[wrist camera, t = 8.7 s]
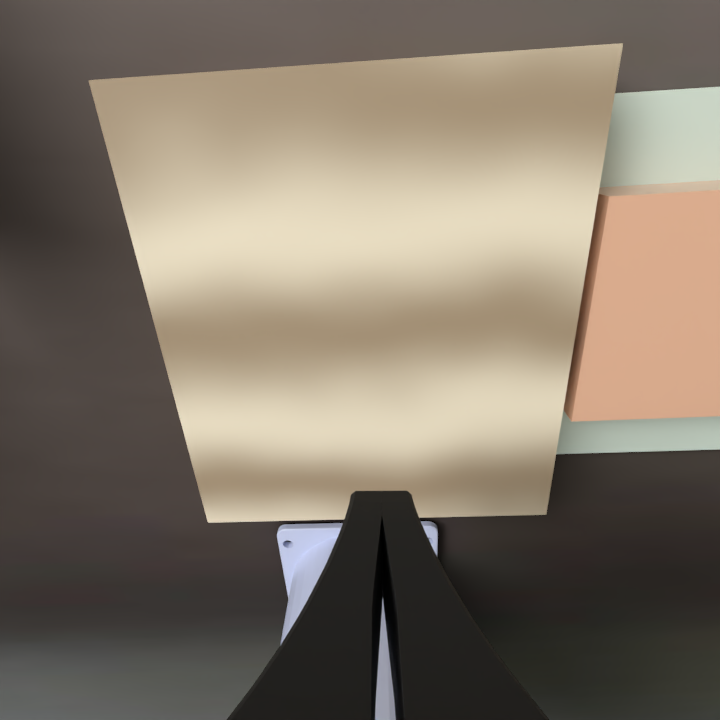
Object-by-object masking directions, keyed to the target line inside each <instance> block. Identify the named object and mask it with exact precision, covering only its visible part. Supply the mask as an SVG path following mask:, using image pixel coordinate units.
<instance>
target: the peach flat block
mask: <svg viewBox="0 0 720 720" xmlns="http://www.w3.org/2000/svg"><path fill="white" fill-rule="evenodd" d="M563 410H564V412H565V413H566V414H567V416H568V417H569V419H570V420H571V422H576V421H603V420H631V419H658V418H685V417H713V416H720V180H712V181H696V182H679V183H663V184H646V185H630V186H613V187H600V188H599V194H598V200H597V206H596V212H595V218H594V225H593V231H592V237H591V243H590V249H589V255H588V261H587V268H586V274H585V280H584V286H583V292H582V298H581V304H580V311H579V317H578V323H577V329H576V335H575V341H574V347H573V354H572V360H571V366H570V372H569V378H568V384H567V390H566V396H565V403H564V409H563Z"/></svg>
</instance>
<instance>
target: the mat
mask: <svg viewBox="0 0 720 720" xmlns="http://www.w3.org/2000/svg"><path fill="white" fill-rule="evenodd" d="M712 180H720V87H709V88H693V89H677V90H662V91H646V92H631V93H615V96H614V102H613V108H612V114H611V120H610V126H609V132H608V139H607V145H606V151H605V157H604V163H603V169H602V175H601V182H600V187H613V186H630V185H646V184H663V183H679V182H696V181H712ZM715 449H720V416H713V417H685V418H658V419H631V420H603V421H576V422H571V420H570V419H569V417H568V416H567V414H566V413H565V412H564V410H563V415H562V421H561V427H560V433H559V439H558V446H557V452H556V454H578V453H612V452H646V451H680V450H715Z"/></svg>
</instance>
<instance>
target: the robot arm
mask: <svg viewBox="0 0 720 720" xmlns="http://www.w3.org/2000/svg"><path fill="white" fill-rule="evenodd" d="M428 538H429V539H428ZM277 539H278V545H279V550H280V555H281V561H282V566H283V572H284V577H285V582H286V588H287V593H288V599H289V600H288V605H287V611H286V616H285V622H284V627H283V633H282V639H281V644H280V647H279V648H278V650H277V651H276V653H275V654H274V655H273V657H272V658H271V660H270V661H269V663H268V664H267V666H266V667H265V669H264V670H263V672H262V673H261V675H260V676H259V678H258V679H257V680H256V682H255V683H254V685H253V686H252V687H251V689H250V690H249V691H248V693H247V694H246V695H245V697H244V698H243V699H242V701H241V702H240V703H239V704H238V706H237V707H236V708H235V710H234V711H233V712H232V713H231V715H230V716H229V717H228V719H227V720H549V719H548V718H547V716H546V715H545V714H544V713H543V711H542V710H541V709H540V708H539V706H538V705H537V704H536V703H535V701H534V700H533V699H532V698H531V697H530V695H529V694H528V693H527V692H526V690H525V689H524V688H523V687H522V685H521V684H520V683H519V682H518V680H517V679H516V678H515V677H514V675H513V674H512V673H511V672H510V670H509V669H508V667H507V666H506V665H505V663H504V662H503V661H502V659H501V658H500V657H499V655H498V654H497V652H496V651H495V650H494V648H493V647H492V646H491V644H490V643H489V641H488V640H487V638H486V637H485V635H484V634H483V633H482V631H481V630H480V628H479V627H478V625H477V624H476V622H475V621H474V619H473V618H472V616H471V614H470V613H469V611H468V610H467V608H466V607H465V605H464V603H463V602H462V600H461V598H460V597H459V595H458V593H457V592H456V590H455V588H454V587H453V585H452V583H451V581H450V580H449V578H448V576H447V574H446V573H445V571H444V569H443V567H442V565H441V563H440V561H439V559H438V557H437V553H438V530H437V525H436V524H435V523H433V522H431V521H420V519H419V516H418V514H417V511H416V508H415V505H414V502H413V498H412V494H410V493H409V492H408V491H355V492H354V493H352V494H351V497H350V502H349V506H348V509H347V513H346V516H345V519H344V522H343V523H320V524H285V525H282V526H280V527H279V529H278V533H277ZM287 540H288V541H291V542H288V541H287Z"/></svg>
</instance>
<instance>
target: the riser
mask: <svg viewBox="0 0 720 720" xmlns="http://www.w3.org/2000/svg"><path fill="white" fill-rule="evenodd" d="M622 46H623V43H621V44H606V45H592V46H577V47H563V48H548V49H534V50H519V51H505V52H490V53H476V54H461V55H447V56H433V57H418V58H404V59H389V60H375V61H360V62H346V63H331V64H317V65H302V66H288V67H273V68H259V69H244V70H230V71H215V72H201V73H186V74H172V75H158V76H143V77H129V78H114V79H100V80H89V84H90V87H91V91H92V95H93V99H94V102H95V106H96V110H97V113H98V117H99V121H100V124H101V128H102V132H103V136H104V139H105V143H106V147H107V150H108V154H109V158H110V161H111V165H112V169H113V173H114V176H115V180H116V184H117V187H118V191H119V195H120V199H121V202H122V206H123V210H124V213H125V217H126V221H127V224H128V228H129V232H130V236H131V239H132V243H133V247H134V250H135V254H136V258H137V262H138V265H139V269H140V273H141V276H142V280H143V284H144V287H145V291H146V295H147V299H148V302H149V306H150V310H151V313H152V317H153V321H154V324H155V328H156V332H157V336H158V339H159V343H160V347H161V350H162V354H163V358H164V362H165V365H166V369H167V373H168V376H169V380H170V384H171V387H172V391H173V395H174V399H175V402H176V406H177V410H178V413H179V417H180V421H181V425H182V428H183V432H184V436H185V439H186V443H187V447H188V450H189V454H190V458H191V462H192V465H193V469H194V473H195V476H196V480H197V484H198V488H199V491H200V495H201V499H202V502H203V506H204V510H205V513H206V517H207V521H208V523H211V522H254V521H297V520H340V519H345V516H346V513H347V509H348V506H349V502H350V497H351V494H352V493H354V492H355V491H408V492H409V493H410V494H412V498H413V502H414V505H415V508H416V511H417V514H418V516H419V518H426V517H469V516H512V515H546V513H547V507H548V501H549V495H550V489H551V482H552V476H553V470H554V464H555V458H556V452H557V446H558V439H559V433H560V427H561V421H562V415H563V409H564V403H565V396H566V390H567V384H568V378H569V372H570V366H571V360H572V354H573V347H574V341H575V335H576V329H577V323H578V317H579V311H580V304H581V298H582V292H583V286H584V280H585V274H586V268H587V261H588V255H589V249H590V243H591V237H592V231H593V225H594V218H595V212H596V206H597V200H598V194H599V188H600V182H601V175H602V169H603V163H604V157H605V151H606V145H607V139H608V132H609V126H610V120H611V114H612V108H613V102H614V96H615V89H616V83H617V77H618V71H619V65H620V59H621V53H622Z"/></svg>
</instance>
